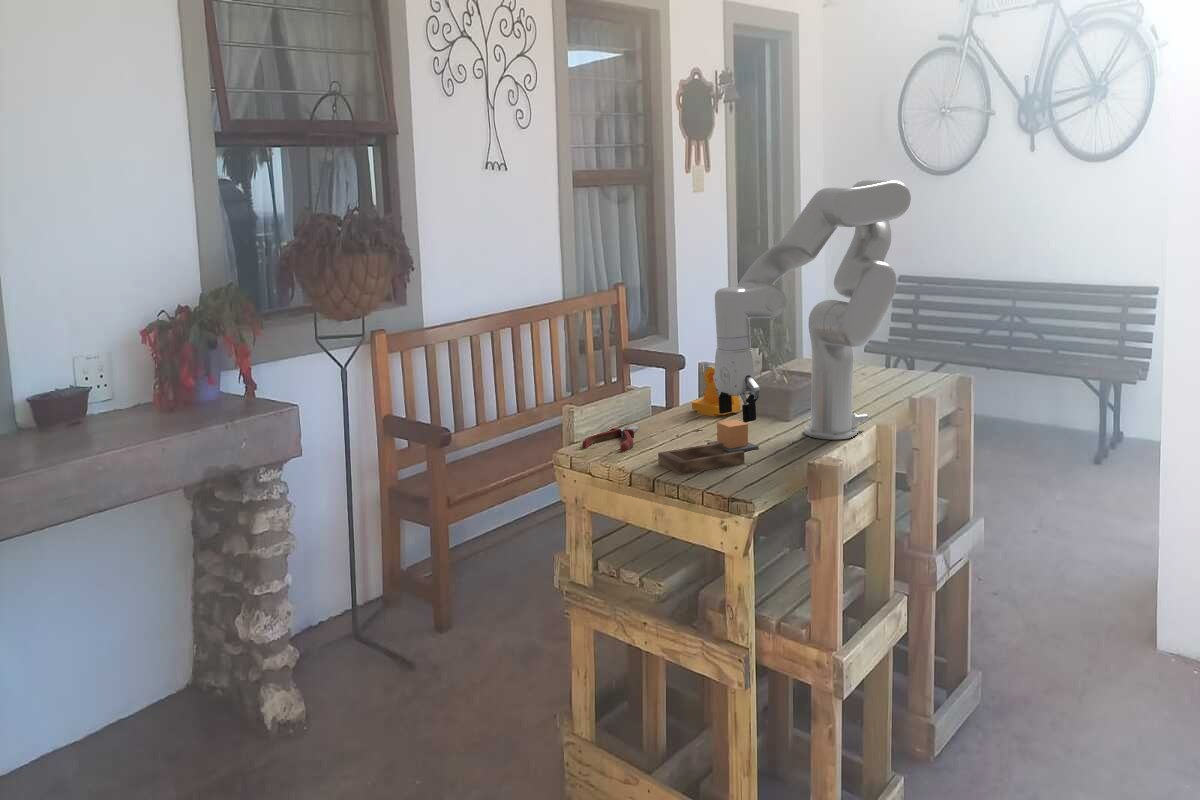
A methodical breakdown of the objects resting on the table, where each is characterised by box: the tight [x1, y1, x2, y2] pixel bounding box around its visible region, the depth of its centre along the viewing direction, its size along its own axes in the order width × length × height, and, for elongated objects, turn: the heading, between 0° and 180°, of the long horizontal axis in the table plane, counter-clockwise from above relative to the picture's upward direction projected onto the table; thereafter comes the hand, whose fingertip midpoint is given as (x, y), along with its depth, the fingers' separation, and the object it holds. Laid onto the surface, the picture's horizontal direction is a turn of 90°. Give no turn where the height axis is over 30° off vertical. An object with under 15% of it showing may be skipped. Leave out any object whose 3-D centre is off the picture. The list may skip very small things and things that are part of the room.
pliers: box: [581, 424, 641, 452], centre depth 247 cm, size 12×20×3 cm, turn 157°
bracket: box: [691, 366, 741, 417], centre depth 269 cm, size 11×7×12 cm, turn 43°
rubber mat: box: [706, 440, 759, 454], centre depth 237 cm, size 8×9×1 cm
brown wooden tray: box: [657, 442, 745, 475], centre depth 225 cm, size 16×9×2 cm, turn 116°
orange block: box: [716, 419, 749, 449], centre depth 237 cm, size 5×5×5 cm
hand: (737, 416), depth 236 cm, fingers open, 9 cm apart
